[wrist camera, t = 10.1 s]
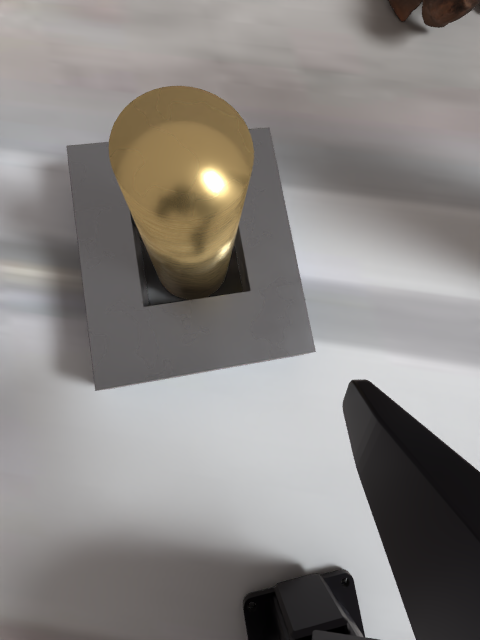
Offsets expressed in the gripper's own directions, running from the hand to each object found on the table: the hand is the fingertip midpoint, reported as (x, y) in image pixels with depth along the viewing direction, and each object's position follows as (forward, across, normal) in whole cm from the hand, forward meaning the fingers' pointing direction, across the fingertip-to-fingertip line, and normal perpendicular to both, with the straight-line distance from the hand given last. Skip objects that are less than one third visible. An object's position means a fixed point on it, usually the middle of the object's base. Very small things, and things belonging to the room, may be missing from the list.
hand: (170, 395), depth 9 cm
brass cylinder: (+15, 0, +4) cm, 16 cm away
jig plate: (+15, 0, +4) cm, 16 cm away
